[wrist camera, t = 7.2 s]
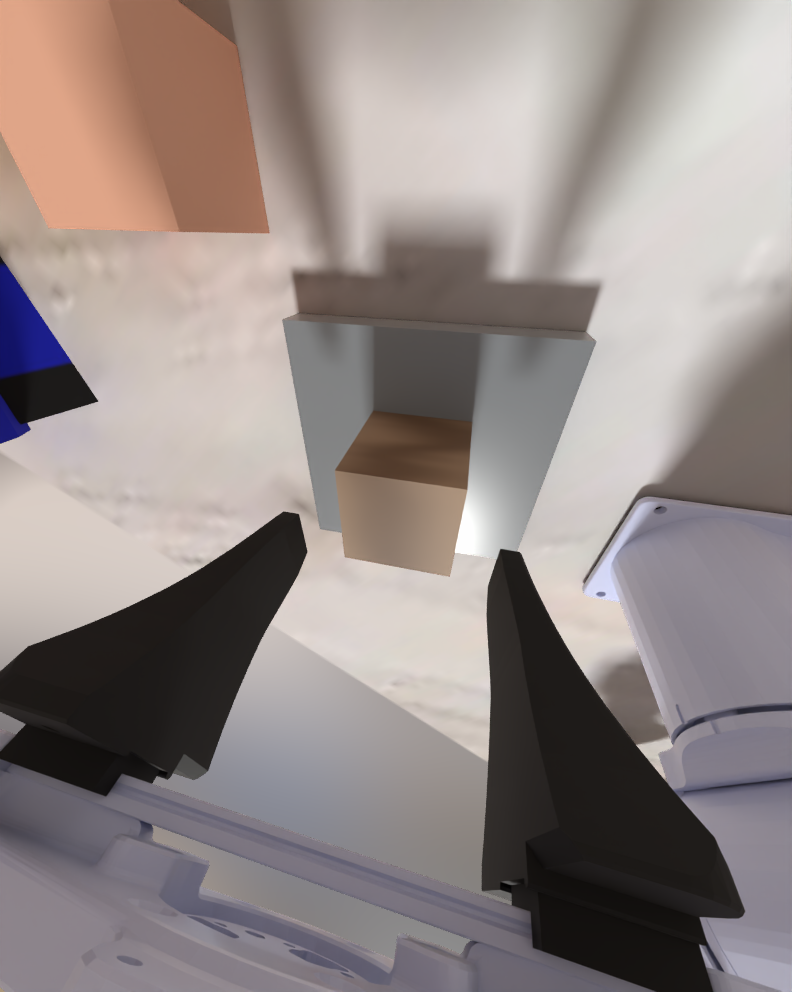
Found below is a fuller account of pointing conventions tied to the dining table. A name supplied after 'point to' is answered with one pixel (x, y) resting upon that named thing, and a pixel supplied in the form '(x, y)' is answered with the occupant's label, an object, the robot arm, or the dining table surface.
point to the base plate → (440, 404)
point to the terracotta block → (128, 117)
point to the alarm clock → (32, 365)
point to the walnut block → (405, 491)
